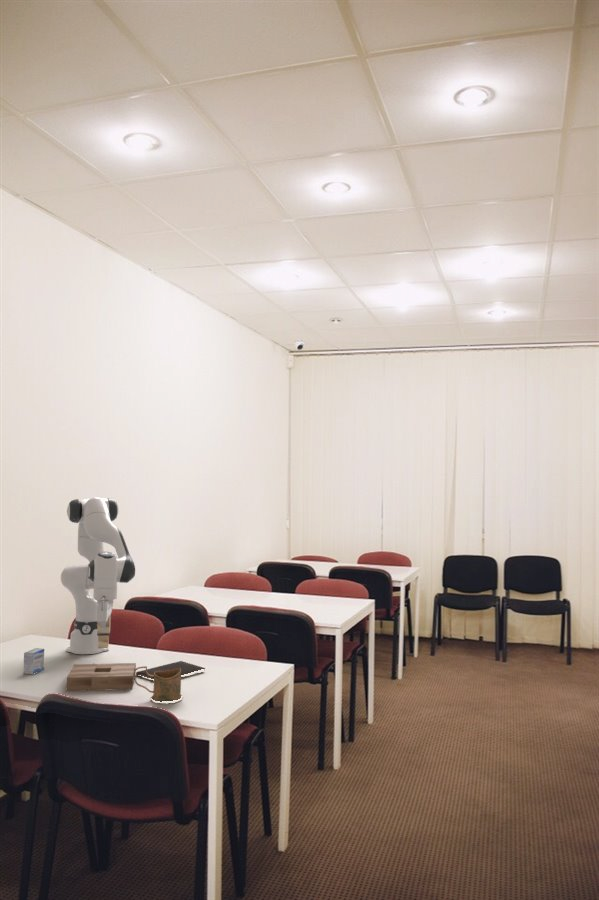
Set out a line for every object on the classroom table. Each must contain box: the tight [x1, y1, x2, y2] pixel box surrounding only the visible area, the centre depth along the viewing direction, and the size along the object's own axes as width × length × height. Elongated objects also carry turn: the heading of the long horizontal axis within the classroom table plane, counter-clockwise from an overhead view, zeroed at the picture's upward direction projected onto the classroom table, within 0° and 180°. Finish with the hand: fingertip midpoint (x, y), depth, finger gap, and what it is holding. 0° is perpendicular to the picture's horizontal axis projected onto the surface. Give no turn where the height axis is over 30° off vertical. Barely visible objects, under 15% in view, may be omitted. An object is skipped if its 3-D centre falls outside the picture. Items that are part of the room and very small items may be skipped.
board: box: [65, 662, 137, 692], centre depth 269 cm, size 18×24×5 cm
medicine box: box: [22, 647, 45, 675], centre depth 281 cm, size 8×4×9 cm, turn 168°
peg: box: [97, 614, 112, 648], centre depth 269 cm, size 4×4×12 cm
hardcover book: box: [135, 660, 206, 679], centre depth 283 cm, size 16×23×2 cm
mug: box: [134, 665, 183, 702], centre depth 251 cm, size 12×18×12 cm, turn 103°
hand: (104, 630), depth 269 cm, fingers closed on peg, 4 cm apart
